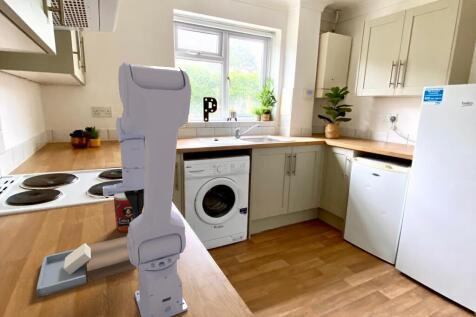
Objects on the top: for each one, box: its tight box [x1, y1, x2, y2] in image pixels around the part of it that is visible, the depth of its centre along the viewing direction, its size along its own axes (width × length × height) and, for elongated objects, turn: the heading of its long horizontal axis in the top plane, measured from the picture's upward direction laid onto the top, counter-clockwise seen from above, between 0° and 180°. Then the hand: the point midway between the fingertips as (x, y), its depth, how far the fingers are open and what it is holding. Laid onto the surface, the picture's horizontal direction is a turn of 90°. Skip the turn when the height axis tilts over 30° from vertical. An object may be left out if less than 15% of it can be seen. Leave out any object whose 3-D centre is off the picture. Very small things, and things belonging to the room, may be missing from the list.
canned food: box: [113, 193, 135, 233], centre depth 80 cm, size 8×8×11 cm
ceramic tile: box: [64, 242, 91, 274], centre depth 60 cm, size 5×5×2 cm
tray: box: [36, 248, 88, 298], centre depth 58 cm, size 13×8×2 cm, turn 31°
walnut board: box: [86, 235, 138, 282], centre depth 63 cm, size 12×10×2 cm
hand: (137, 217), depth 66 cm, fingers closed
